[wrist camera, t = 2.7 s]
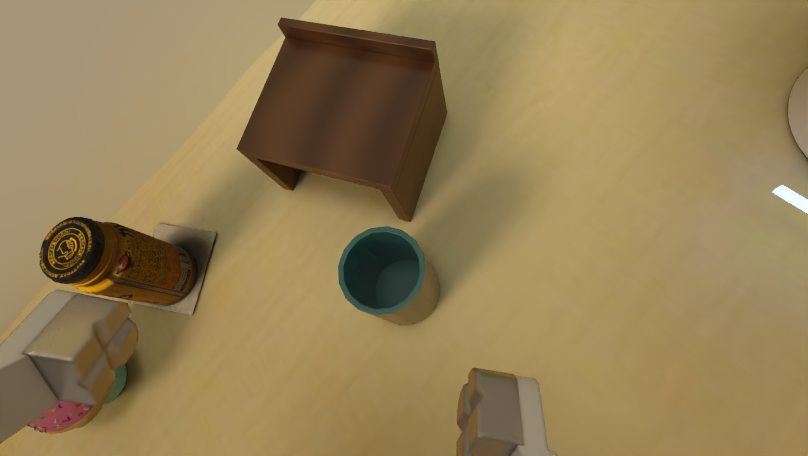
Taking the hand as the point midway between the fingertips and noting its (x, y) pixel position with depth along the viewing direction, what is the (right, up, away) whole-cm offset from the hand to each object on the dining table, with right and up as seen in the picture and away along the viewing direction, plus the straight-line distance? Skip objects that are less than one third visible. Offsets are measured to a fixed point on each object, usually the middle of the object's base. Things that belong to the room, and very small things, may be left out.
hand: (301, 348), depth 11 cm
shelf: (-2, +11, +35) cm, 37 cm away
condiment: (-21, -1, +35) cm, 41 cm away
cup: (+3, -3, +30) cm, 30 cm away
